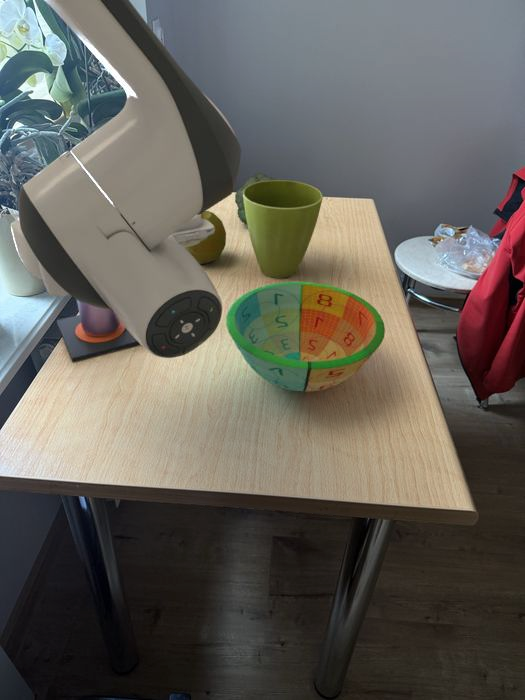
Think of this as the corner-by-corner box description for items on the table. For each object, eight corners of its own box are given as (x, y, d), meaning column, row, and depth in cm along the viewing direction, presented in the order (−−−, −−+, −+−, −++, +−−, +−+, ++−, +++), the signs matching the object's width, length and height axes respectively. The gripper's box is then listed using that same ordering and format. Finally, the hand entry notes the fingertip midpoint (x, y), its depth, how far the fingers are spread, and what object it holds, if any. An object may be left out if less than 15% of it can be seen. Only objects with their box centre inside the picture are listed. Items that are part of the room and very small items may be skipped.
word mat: (72, 362, 81) (69, 351, 80) (56, 324, 90) (54, 313, 89) (215, 325, 91) (215, 314, 90) (189, 293, 99) (188, 283, 98)
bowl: (243, 325, 91) (243, 273, 85) (374, 341, 88) (384, 289, 82) (210, 412, 73) (208, 354, 67) (374, 436, 70) (386, 377, 64)
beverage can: (115, 339, 85) (101, 253, 76) (78, 337, 85) (60, 252, 76) (123, 319, 90) (111, 236, 81) (88, 317, 90) (72, 235, 81)
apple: (189, 246, 116) (187, 197, 109) (232, 252, 114) (232, 203, 108) (172, 266, 108) (168, 215, 102) (217, 273, 106) (216, 221, 100)
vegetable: (284, 200, 135) (304, 192, 120) (256, 241, 134) (273, 239, 120) (246, 170, 131) (261, 158, 117) (217, 213, 131) (229, 206, 116)
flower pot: (323, 286, 103) (331, 206, 94) (247, 290, 101) (248, 209, 92) (306, 252, 115) (312, 179, 106) (238, 255, 113) (238, 180, 104)
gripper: (220, 206, 57) (174, 169, 66) (17, 240, 49) (-1, 192, 58) (222, 260, 60) (178, 217, 70) (33, 299, 52) (13, 245, 62)
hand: (95, 206), depth 64 cm, fingers open, 8 cm apart
